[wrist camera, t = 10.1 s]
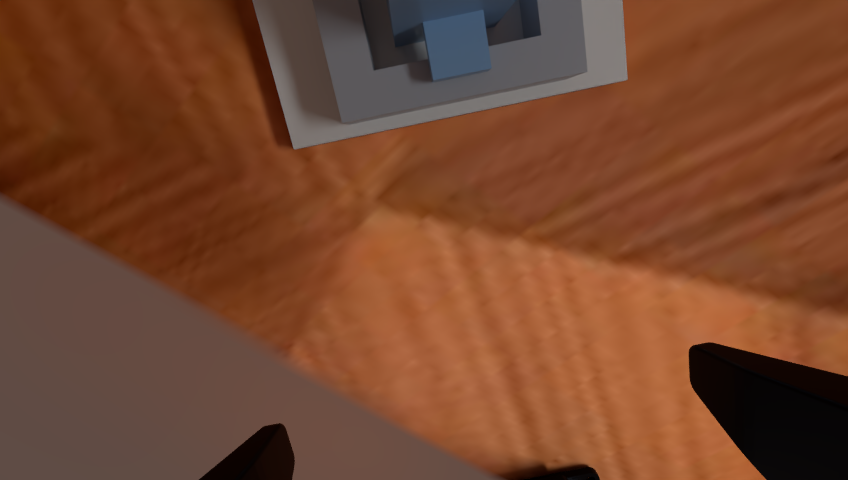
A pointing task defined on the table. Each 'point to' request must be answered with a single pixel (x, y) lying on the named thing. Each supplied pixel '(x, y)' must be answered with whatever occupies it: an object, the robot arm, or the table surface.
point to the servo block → (448, 32)
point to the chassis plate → (427, 63)
